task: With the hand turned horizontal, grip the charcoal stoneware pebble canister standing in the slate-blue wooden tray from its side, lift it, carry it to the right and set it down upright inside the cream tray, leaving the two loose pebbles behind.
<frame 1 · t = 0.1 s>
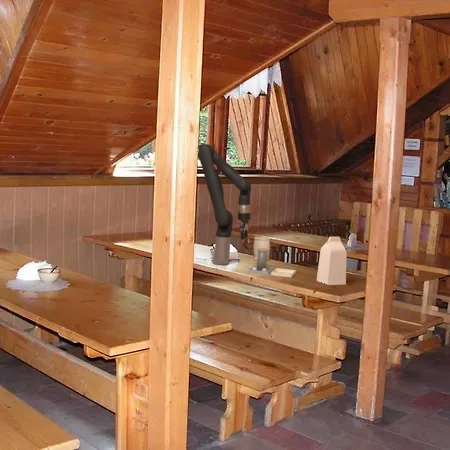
hand: (244, 238, 408), 17 cm above the table, tool pointing down, fingers open, 8 cm apart
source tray: (261, 272, 394), on the table
jar: (260, 260, 438), on the table
milk: (331, 282, 377), on the table
pebble a: (254, 272, 390), point 1 cm above the table, touching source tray
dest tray: (283, 274, 391), on the table
canister: (261, 271, 395), point 1 cm above the table, touching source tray
pebble b: (264, 273, 389), point 1 cm above the table, touching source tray
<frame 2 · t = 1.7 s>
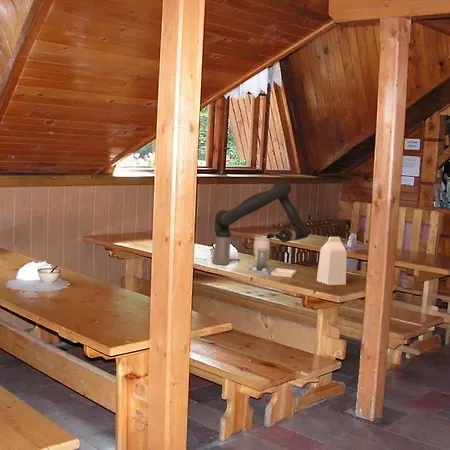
hand: (273, 237, 401), 20 cm above the table, tool horizontal, fingers open, 8 cm apart
nothing on the table moved.
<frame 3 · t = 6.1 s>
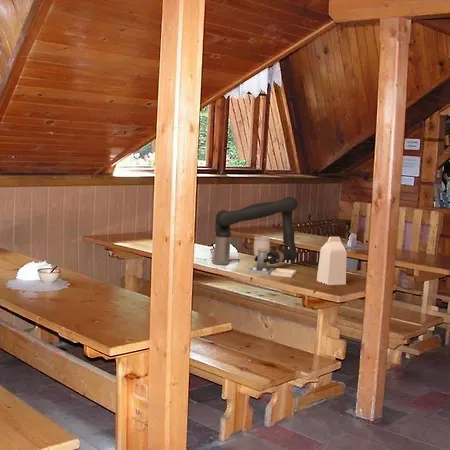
hand: (259, 260, 392), 7 cm above the table, tool horizontal, fingers closed on canister, 5 cm apart
canister: (261, 271, 395), point 1 cm above the table, touching gripper, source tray
everything else where it was.
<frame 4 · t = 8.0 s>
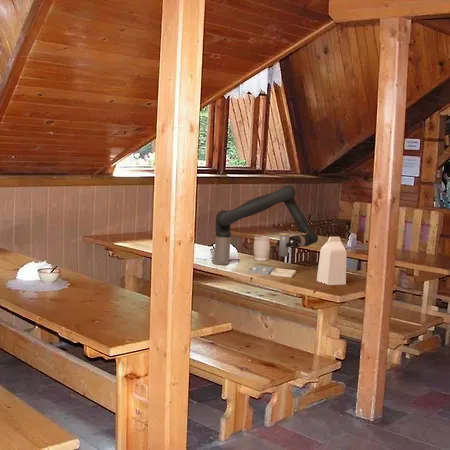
hand: (282, 244, 387), 18 cm above the table, tool horizontal, fingers closed on canister, 5 cm apart
canister: (283, 255, 390), point 11 cm above the table, touching gripper
everything else where it was.
when the fingers open (9 cm above the table, at t = 10.4 s): canister drops 1 cm, resting on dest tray.
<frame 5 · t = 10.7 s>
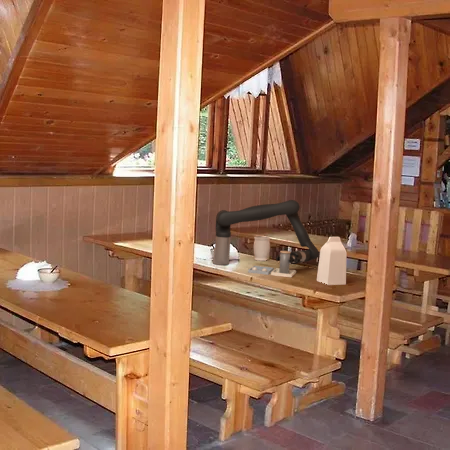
hand: (283, 259, 388), 9 cm above the table, tool horizontal, fingers open, 8 cm apart
canister: (283, 273, 391), point 1 cm above the table, touching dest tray
everything else where it was.
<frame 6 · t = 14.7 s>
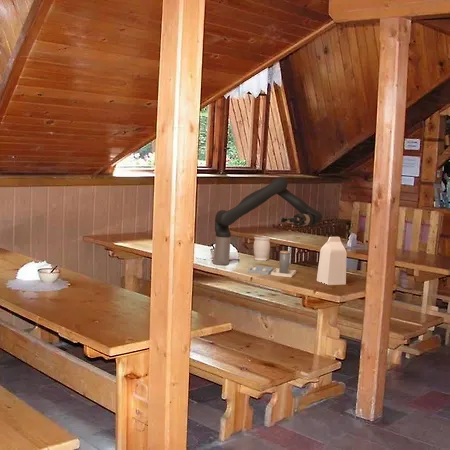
hand: (288, 221, 401), 30 cm above the table, tool horizontal, fingers open, 8 cm apart
nothing on the table moved.
at the end: canister inside the target area on the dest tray (0.6 cm from its centre), point 0.6 cm above the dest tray's base; canister tilted 1°; the gripper is holding nothing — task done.
